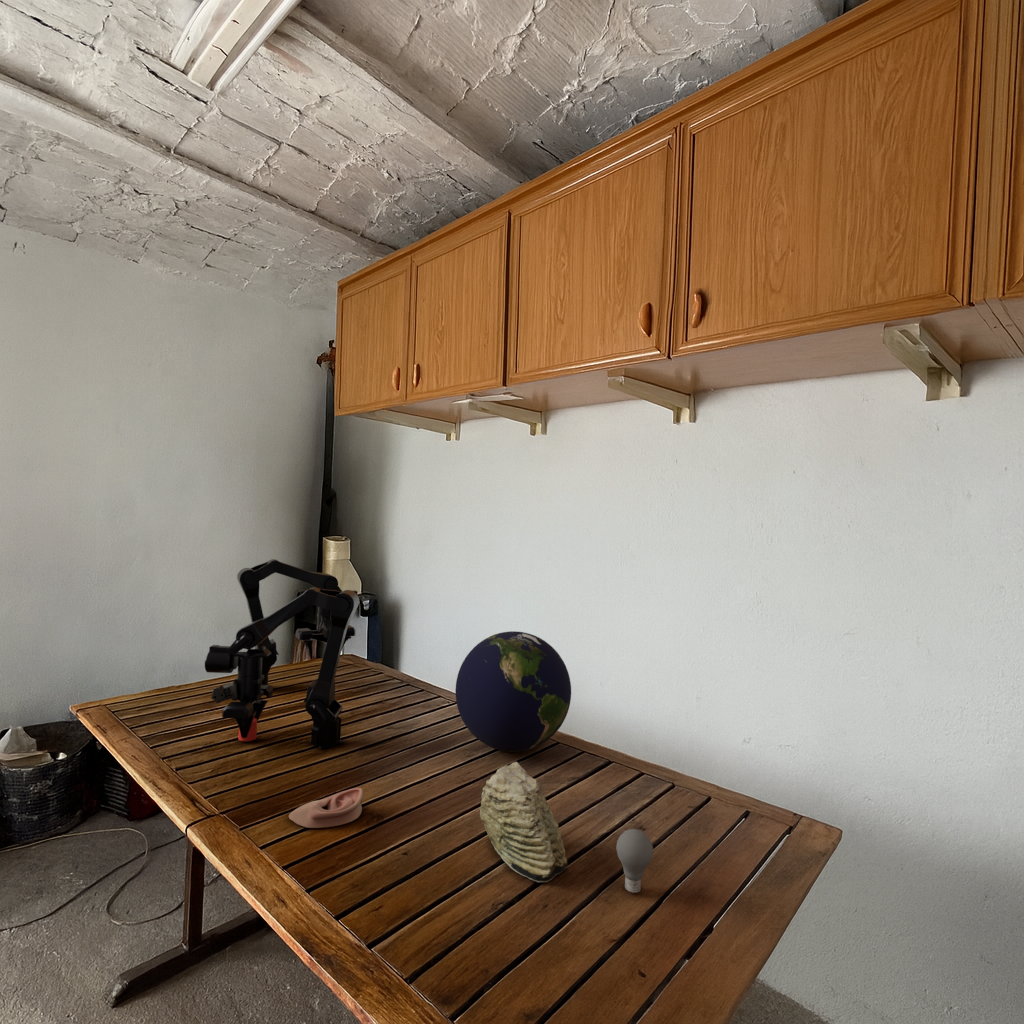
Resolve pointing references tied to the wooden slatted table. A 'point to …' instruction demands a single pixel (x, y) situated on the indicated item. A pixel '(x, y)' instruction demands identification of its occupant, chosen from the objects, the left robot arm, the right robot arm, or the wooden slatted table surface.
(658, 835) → the wooden slatted table surface
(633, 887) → the light bulb
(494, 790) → the fossil
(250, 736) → the canister
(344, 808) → the anatomical model
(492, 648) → the globe
